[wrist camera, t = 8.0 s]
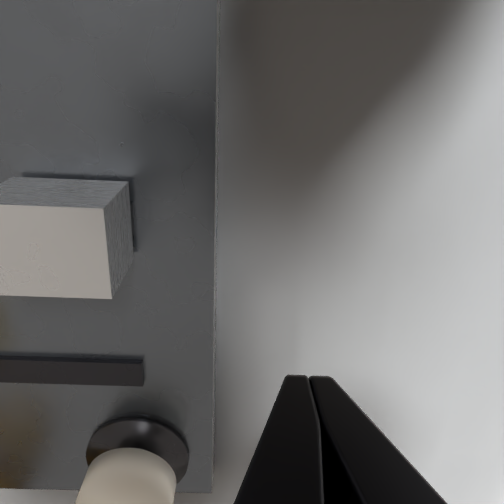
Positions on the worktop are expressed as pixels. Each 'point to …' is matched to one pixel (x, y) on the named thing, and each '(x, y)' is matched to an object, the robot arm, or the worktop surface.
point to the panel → (143, 234)
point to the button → (128, 479)
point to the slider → (64, 237)
